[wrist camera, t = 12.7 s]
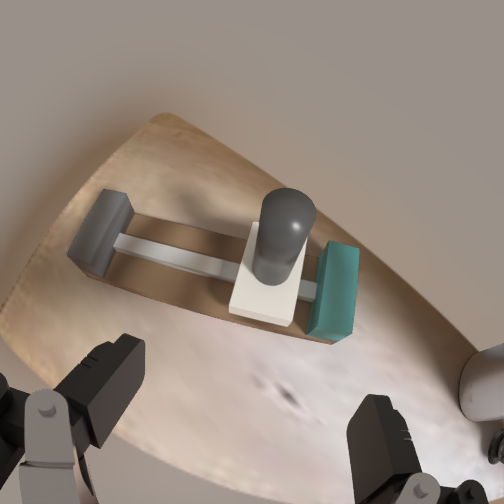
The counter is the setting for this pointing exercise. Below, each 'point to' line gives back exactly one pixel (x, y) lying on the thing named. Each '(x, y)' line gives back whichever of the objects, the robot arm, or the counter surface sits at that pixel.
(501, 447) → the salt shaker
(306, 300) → the rail
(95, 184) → the counter surface
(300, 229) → the carriage
